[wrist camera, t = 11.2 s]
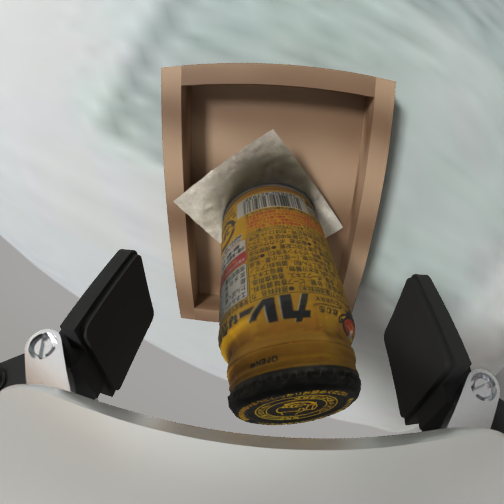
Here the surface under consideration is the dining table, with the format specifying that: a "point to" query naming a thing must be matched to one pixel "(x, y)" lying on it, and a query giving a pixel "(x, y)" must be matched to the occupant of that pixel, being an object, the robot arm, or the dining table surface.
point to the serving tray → (296, 140)
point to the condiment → (277, 287)
